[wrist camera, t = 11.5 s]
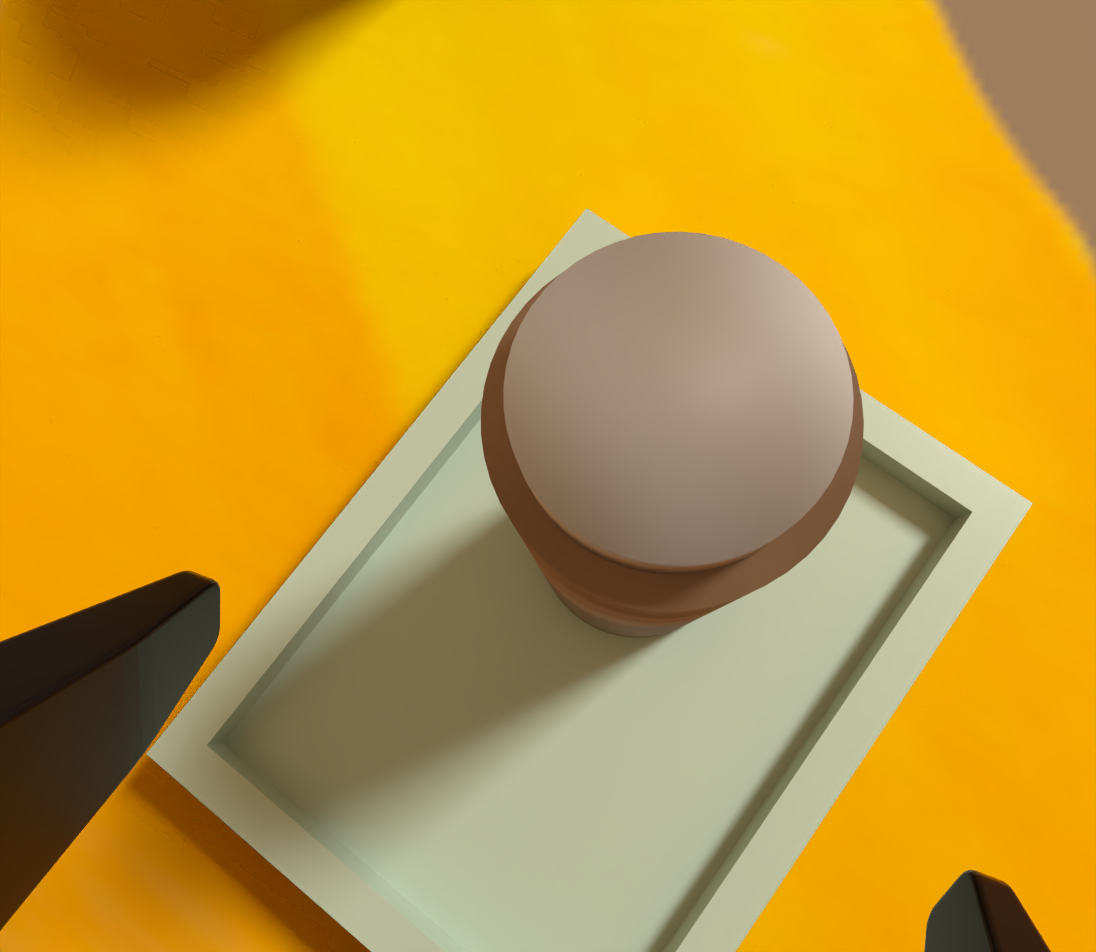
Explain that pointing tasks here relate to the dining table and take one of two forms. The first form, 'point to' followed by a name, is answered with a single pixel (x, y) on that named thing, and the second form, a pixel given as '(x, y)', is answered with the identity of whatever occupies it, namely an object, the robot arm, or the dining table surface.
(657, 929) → the tray
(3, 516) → the dining table surface
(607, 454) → the pepper mill
